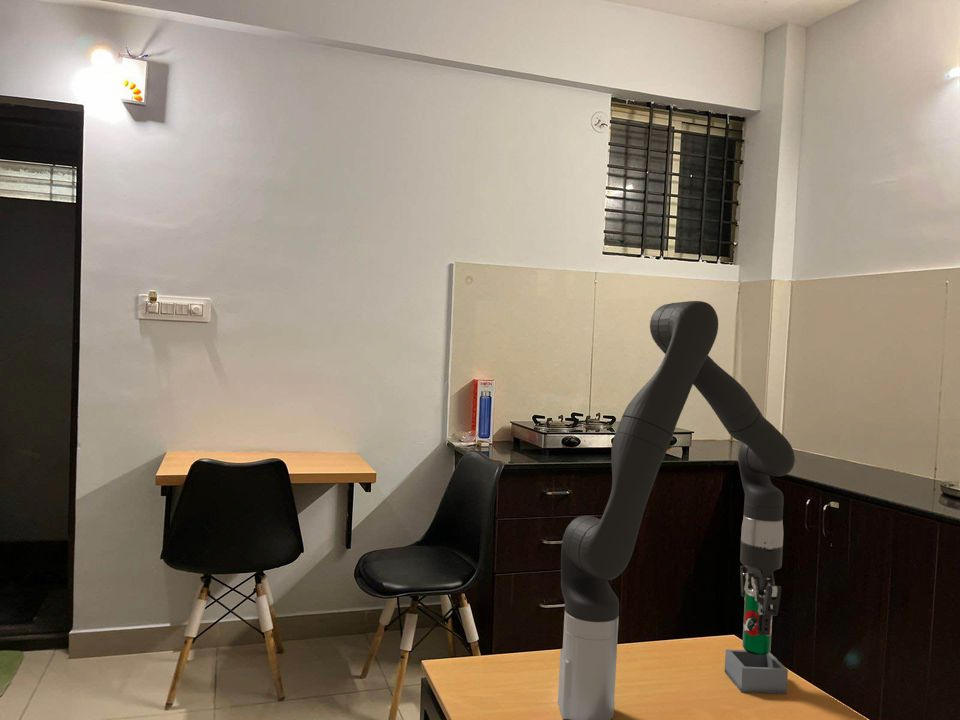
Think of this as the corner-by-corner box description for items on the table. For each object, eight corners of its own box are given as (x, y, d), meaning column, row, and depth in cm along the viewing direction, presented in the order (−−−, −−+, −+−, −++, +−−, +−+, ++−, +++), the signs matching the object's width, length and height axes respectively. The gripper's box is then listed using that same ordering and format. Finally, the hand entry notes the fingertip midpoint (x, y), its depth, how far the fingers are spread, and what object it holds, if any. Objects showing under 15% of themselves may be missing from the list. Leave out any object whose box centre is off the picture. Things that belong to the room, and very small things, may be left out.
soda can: (772, 658, 137) (775, 594, 137) (744, 654, 138) (747, 591, 138) (767, 647, 142) (770, 586, 142) (740, 644, 143) (743, 583, 143)
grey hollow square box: (741, 692, 135) (742, 668, 135) (724, 671, 144) (725, 649, 144) (786, 693, 136) (787, 670, 136) (767, 673, 144) (768, 650, 144)
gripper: (728, 530, 147) (724, 614, 147) (757, 550, 132) (752, 643, 132) (765, 532, 147) (761, 615, 147) (798, 552, 132) (793, 644, 133)
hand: (757, 628), depth 140 cm, fingers closed on soda can, 5 cm apart
